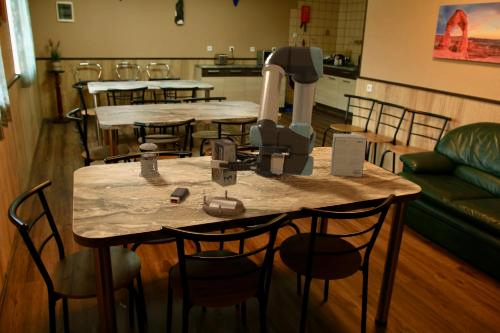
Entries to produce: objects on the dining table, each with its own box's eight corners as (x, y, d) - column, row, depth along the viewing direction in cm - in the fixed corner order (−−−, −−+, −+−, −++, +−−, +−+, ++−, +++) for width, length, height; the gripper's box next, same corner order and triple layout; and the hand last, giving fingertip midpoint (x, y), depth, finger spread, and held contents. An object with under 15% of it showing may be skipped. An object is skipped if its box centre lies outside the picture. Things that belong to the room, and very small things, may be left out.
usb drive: (188, 192, 174) (188, 187, 174) (180, 204, 163) (180, 197, 162) (177, 191, 175) (177, 185, 174) (167, 202, 164) (167, 196, 163)
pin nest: (207, 198, 168) (207, 188, 167) (245, 201, 167) (245, 191, 165) (198, 215, 153) (198, 204, 152) (240, 218, 152) (241, 207, 150)
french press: (134, 175, 190) (131, 123, 182) (149, 168, 201) (147, 118, 193) (152, 179, 187) (150, 126, 179) (166, 171, 197) (164, 121, 189)
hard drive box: (359, 172, 208) (364, 134, 202) (362, 177, 201) (367, 138, 195) (329, 170, 210) (333, 132, 203) (330, 175, 202) (334, 136, 196)
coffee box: (237, 184, 155) (238, 143, 150) (222, 187, 151) (223, 145, 146) (224, 177, 162) (225, 138, 157) (210, 179, 158) (211, 139, 153)
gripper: (269, 183, 142) (207, 178, 144) (272, 163, 164) (218, 159, 166) (270, 163, 140) (207, 158, 142) (273, 145, 162) (219, 141, 164)
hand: (213, 159), depth 154 cm, fingers closed on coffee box, 10 cm apart
